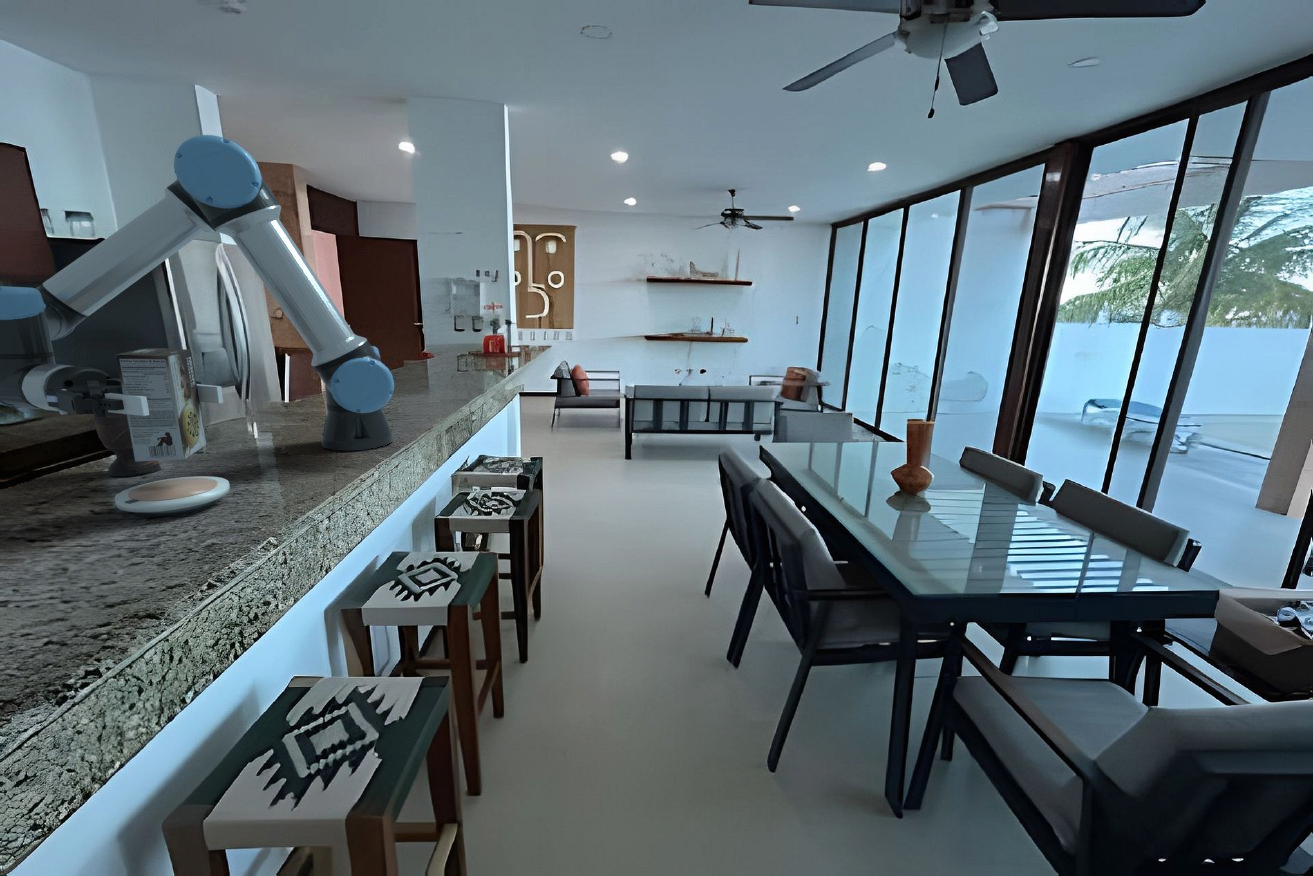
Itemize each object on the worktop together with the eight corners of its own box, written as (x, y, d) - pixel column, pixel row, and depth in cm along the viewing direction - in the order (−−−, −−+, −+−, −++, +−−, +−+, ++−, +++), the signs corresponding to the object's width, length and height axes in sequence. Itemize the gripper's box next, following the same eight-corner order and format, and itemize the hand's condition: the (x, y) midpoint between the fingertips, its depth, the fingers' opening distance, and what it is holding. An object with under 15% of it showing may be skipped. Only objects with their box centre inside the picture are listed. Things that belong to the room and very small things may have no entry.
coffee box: (159, 447, 91) (142, 347, 87) (207, 445, 93) (193, 348, 89) (132, 462, 83) (112, 353, 79) (186, 459, 85) (169, 353, 81)
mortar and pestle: (192, 463, 113) (176, 364, 108) (176, 475, 105) (159, 369, 100) (117, 467, 108) (98, 364, 103) (95, 480, 100) (73, 370, 96)
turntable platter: (185, 479, 98) (184, 471, 98) (250, 488, 95) (249, 480, 95) (91, 505, 85) (89, 497, 84) (164, 517, 82) (162, 508, 82)
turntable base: (184, 493, 96) (183, 485, 96) (231, 500, 94) (230, 491, 94) (118, 513, 87) (116, 504, 86) (169, 521, 85) (168, 512, 84)
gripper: (153, 401, 101) (255, 411, 97) (-20, 426, 79) (102, 440, 75) (146, 359, 99) (249, 368, 95) (-33, 374, 77) (92, 385, 73)
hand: (185, 400), depth 85 cm, fingers closed on coffee box, 11 cm apart
